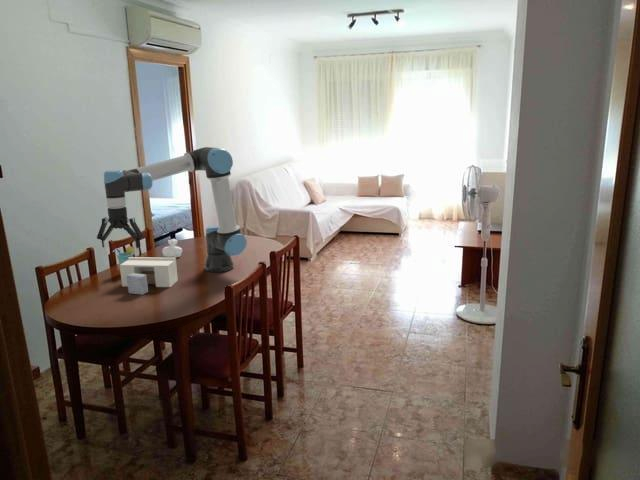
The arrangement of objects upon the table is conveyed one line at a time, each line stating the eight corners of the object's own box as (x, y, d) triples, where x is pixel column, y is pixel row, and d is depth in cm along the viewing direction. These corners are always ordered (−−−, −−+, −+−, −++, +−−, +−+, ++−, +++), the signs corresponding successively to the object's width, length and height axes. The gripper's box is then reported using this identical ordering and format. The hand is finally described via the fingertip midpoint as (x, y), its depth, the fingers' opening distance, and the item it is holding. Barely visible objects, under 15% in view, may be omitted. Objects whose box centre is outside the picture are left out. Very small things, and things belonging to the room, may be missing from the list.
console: (177, 280, 249) (175, 257, 246) (170, 287, 239) (167, 263, 237) (131, 279, 252) (129, 257, 249) (122, 286, 242) (119, 262, 239)
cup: (121, 279, 252) (118, 250, 249) (110, 277, 255) (106, 249, 252) (141, 271, 265) (138, 243, 261) (130, 269, 268) (126, 242, 264)
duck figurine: (183, 260, 291) (186, 242, 296) (178, 255, 284) (182, 237, 289) (163, 259, 293) (167, 242, 297) (158, 255, 286) (162, 237, 290)
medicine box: (148, 291, 234) (146, 274, 232) (142, 295, 230) (140, 277, 228) (134, 290, 236) (132, 272, 234) (128, 293, 232) (126, 275, 230)
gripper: (148, 205, 216) (153, 252, 221) (94, 205, 218) (99, 252, 224) (140, 208, 209) (145, 257, 214) (84, 208, 211) (90, 256, 216)
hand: (122, 254), depth 219 cm, fingers open, 13 cm apart
